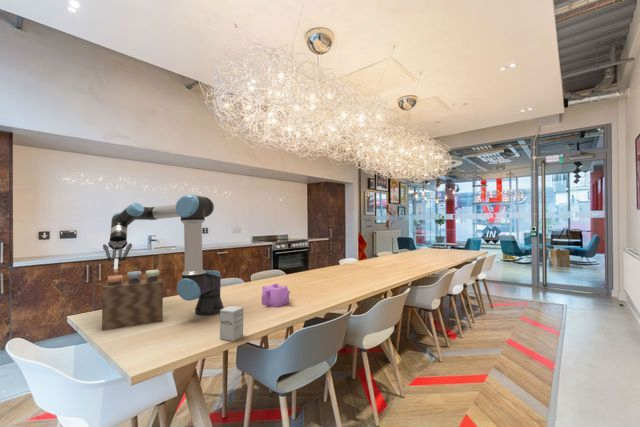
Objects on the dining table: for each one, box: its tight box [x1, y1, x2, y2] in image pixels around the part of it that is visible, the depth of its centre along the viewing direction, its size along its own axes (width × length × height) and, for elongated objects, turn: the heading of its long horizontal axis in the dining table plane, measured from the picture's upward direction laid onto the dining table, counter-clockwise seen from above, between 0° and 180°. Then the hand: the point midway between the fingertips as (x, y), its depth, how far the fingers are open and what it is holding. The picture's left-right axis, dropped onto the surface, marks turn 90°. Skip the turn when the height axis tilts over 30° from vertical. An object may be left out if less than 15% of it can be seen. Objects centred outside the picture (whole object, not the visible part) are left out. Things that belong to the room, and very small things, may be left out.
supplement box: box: [219, 305, 245, 342], centre depth 129 cm, size 7×7×13 cm
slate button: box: [126, 270, 142, 280], centre depth 150 cm, size 6×6×4 cm
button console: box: [101, 276, 164, 331], centre depth 149 cm, size 25×10×22 cm, turn 121°
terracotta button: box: [107, 274, 124, 283], centre depth 145 cm, size 6×6×4 cm
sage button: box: [145, 269, 160, 279], centre depth 154 cm, size 6×6×4 cm
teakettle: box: [261, 283, 291, 308], centre depth 183 cm, size 17×17×12 cm
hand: (115, 270), depth 146 cm, fingers closed
